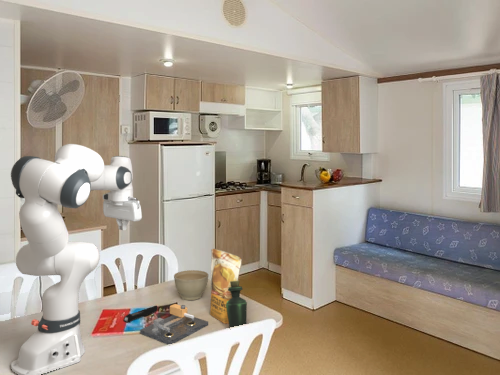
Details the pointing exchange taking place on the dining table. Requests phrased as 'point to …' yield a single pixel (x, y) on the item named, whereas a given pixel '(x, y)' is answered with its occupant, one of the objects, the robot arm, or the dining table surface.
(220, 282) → the pancake mix bag
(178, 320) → the bolt plate
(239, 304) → the potion bottle
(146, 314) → the electric trimmer
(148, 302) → the dining table surface
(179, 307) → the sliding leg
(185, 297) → the planter bowl
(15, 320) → the dining table surface
